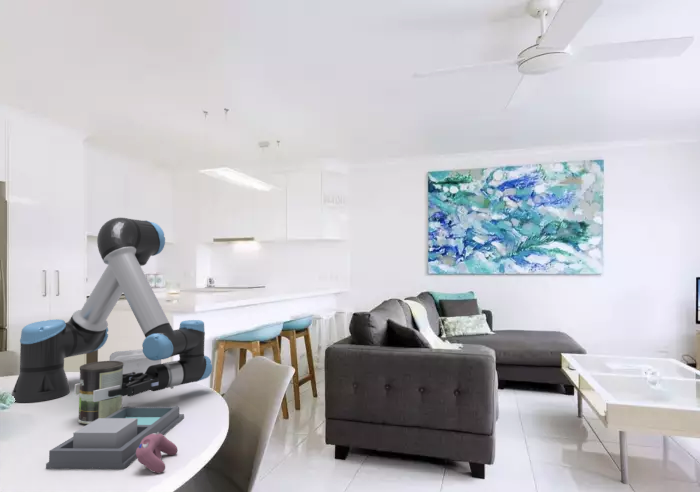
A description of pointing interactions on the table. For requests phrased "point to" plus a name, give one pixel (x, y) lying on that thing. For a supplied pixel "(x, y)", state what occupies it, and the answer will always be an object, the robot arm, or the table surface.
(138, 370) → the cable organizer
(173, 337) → the robot arm
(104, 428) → the grey compartment tray
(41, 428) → the table surface
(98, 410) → the coffee can
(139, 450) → the video game controller
